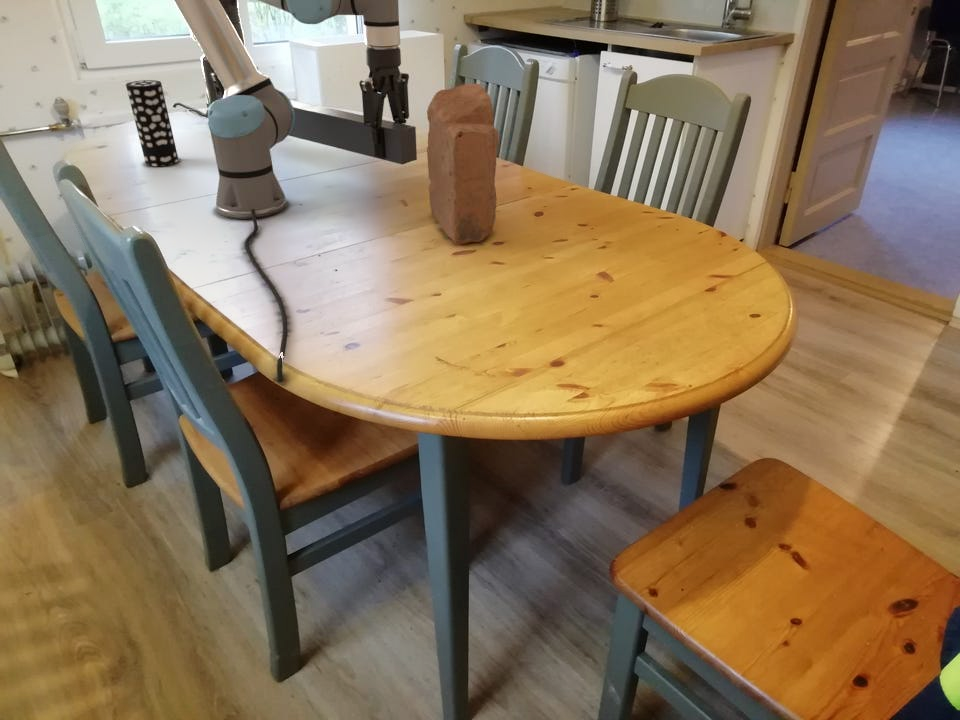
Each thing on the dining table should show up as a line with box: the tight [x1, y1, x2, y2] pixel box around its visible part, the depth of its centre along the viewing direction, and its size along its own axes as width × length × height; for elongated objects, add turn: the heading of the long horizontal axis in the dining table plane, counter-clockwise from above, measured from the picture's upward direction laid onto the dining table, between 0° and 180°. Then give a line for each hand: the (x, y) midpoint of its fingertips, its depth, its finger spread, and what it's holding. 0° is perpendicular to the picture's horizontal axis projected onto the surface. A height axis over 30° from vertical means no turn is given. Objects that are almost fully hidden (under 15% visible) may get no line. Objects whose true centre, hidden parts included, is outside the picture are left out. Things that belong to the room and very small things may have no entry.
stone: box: [426, 83, 500, 245], centre depth 142 cm, size 22×11×28 cm, turn 18°
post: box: [216, 92, 418, 166], centre depth 174 cm, size 68×5×8 cm, turn 53°
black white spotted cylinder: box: [125, 79, 179, 167], centre depth 181 cm, size 8×8×20 cm
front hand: (388, 154), depth 162 cm, fingers closed on post, 5 cm apart
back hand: (240, 109), depth 188 cm, fingers closed on post, 5 cm apart
